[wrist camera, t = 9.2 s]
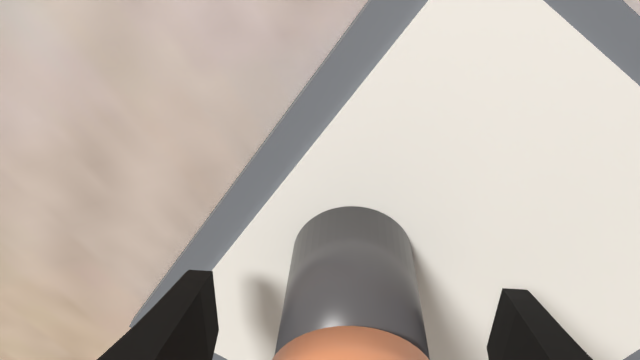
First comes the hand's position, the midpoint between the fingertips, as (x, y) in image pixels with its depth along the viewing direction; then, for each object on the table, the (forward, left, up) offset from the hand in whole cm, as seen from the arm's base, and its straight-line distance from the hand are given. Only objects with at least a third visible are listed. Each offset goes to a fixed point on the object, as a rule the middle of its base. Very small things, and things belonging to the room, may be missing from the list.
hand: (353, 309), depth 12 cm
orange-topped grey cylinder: (0, 0, -2) cm, 2 cm away
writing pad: (-3, -1, -3) cm, 4 cm away
